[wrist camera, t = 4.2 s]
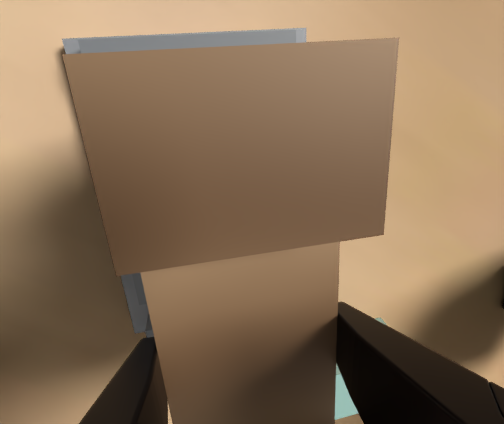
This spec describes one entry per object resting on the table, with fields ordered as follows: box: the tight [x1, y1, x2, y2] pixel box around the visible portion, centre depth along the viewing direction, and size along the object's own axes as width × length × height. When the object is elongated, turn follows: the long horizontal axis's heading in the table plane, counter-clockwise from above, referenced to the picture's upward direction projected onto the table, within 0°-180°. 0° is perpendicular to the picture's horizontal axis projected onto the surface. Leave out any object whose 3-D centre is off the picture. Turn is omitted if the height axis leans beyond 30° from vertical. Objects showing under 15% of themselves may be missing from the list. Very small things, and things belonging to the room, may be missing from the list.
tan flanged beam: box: [62, 38, 399, 424], centre depth 8 cm, size 12×4×6 cm, turn 4°
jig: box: [62, 28, 306, 338], centre depth 18 cm, size 16×11×2 cm
